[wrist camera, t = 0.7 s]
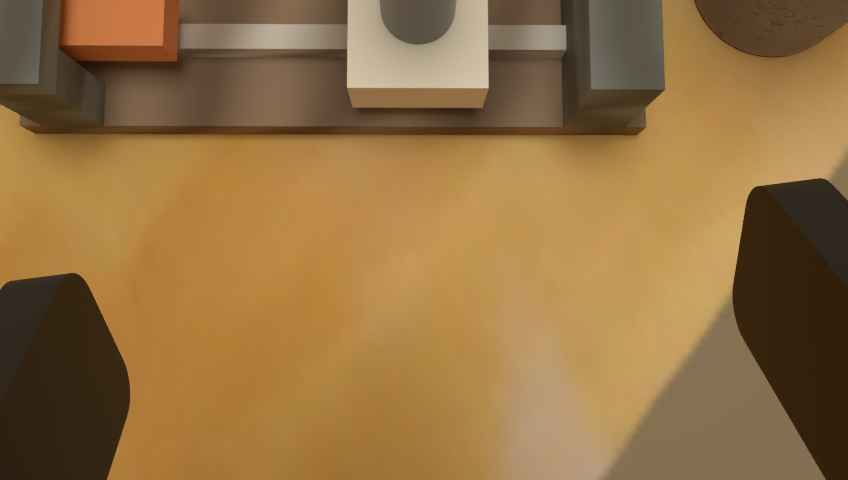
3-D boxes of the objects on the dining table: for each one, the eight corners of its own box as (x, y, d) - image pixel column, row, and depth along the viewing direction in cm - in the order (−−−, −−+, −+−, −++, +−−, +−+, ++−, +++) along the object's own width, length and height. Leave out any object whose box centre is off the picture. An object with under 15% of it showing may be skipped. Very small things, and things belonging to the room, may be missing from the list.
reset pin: (66, 60, 35) (46, 45, 33) (70, -3, 36) (49, -22, 34) (177, 61, 35) (162, 45, 33) (179, -2, 36) (165, -21, 34)
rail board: (35, 133, 39) (-64, 83, 31) (43, -21, 39) (-51, -109, 31) (636, 134, 39) (693, 85, 31) (632, -19, 40) (686, -104, 32)
